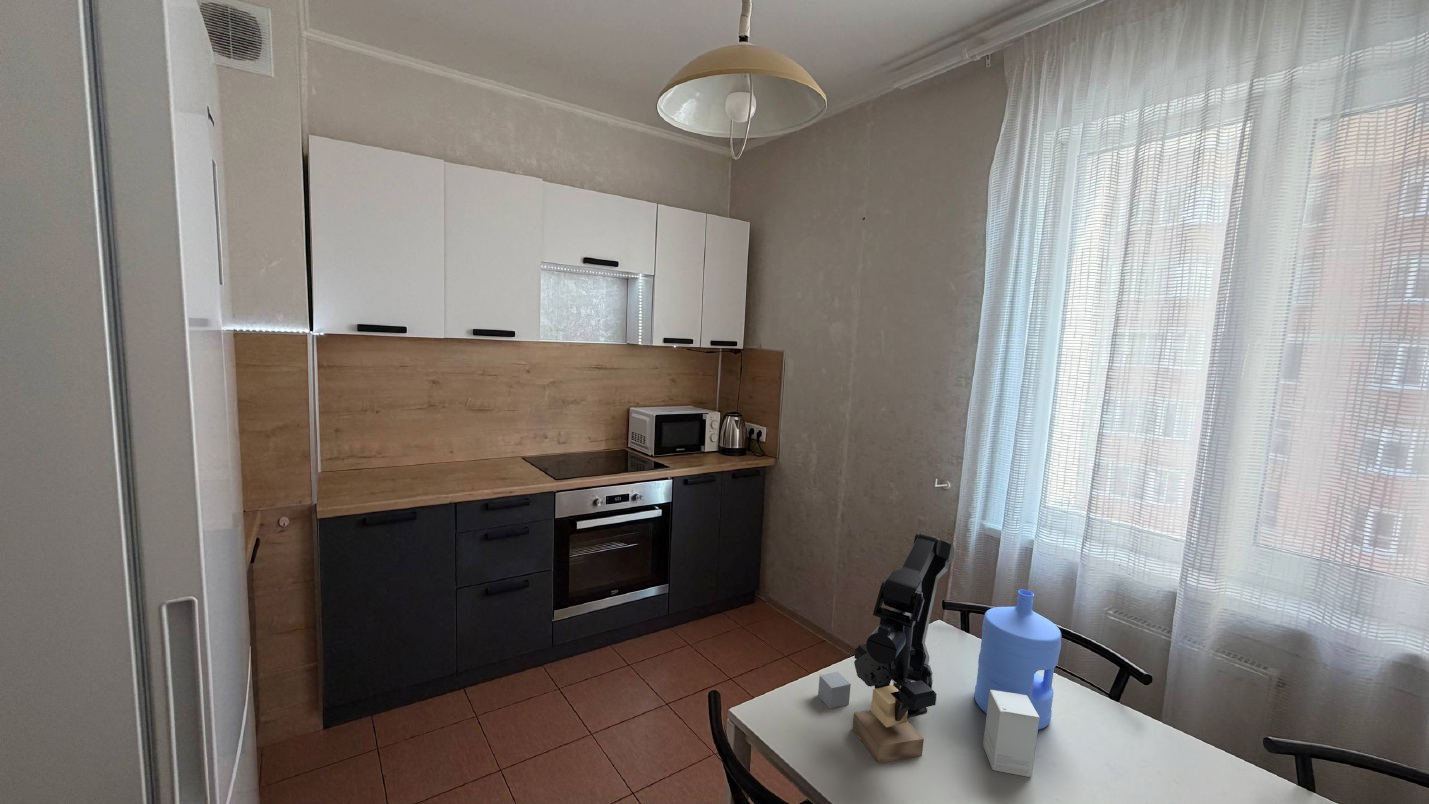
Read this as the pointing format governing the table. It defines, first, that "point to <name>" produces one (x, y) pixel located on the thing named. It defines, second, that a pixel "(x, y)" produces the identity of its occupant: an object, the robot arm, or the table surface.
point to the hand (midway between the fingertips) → (889, 712)
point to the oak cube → (885, 706)
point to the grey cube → (834, 689)
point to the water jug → (1018, 655)
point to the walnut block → (887, 738)
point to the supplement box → (1011, 733)
